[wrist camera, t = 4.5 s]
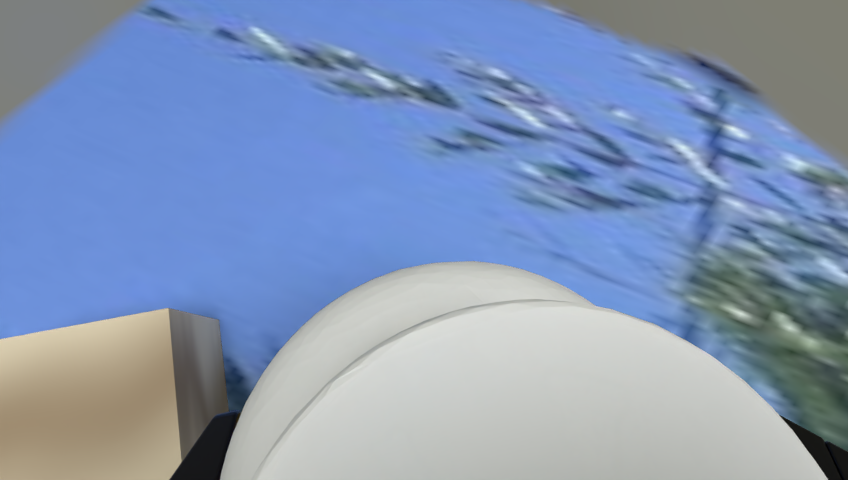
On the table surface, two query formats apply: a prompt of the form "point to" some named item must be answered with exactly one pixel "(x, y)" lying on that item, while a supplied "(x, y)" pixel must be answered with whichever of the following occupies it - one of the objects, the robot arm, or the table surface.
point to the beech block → (109, 397)
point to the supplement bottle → (500, 392)
